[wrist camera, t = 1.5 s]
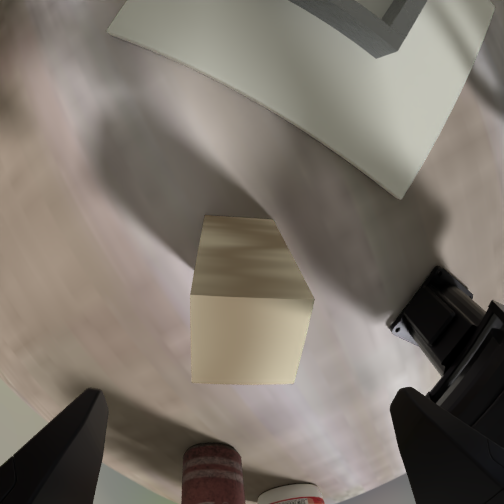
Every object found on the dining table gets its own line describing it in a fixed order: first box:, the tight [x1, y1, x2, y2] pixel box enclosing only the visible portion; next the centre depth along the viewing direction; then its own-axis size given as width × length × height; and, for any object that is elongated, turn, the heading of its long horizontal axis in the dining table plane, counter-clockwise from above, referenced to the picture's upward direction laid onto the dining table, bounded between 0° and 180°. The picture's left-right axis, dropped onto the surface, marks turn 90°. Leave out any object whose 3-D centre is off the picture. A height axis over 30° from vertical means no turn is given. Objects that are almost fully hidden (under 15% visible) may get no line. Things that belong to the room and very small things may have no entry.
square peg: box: [190, 215, 315, 385], centre depth 15 cm, size 4×4×9 cm
